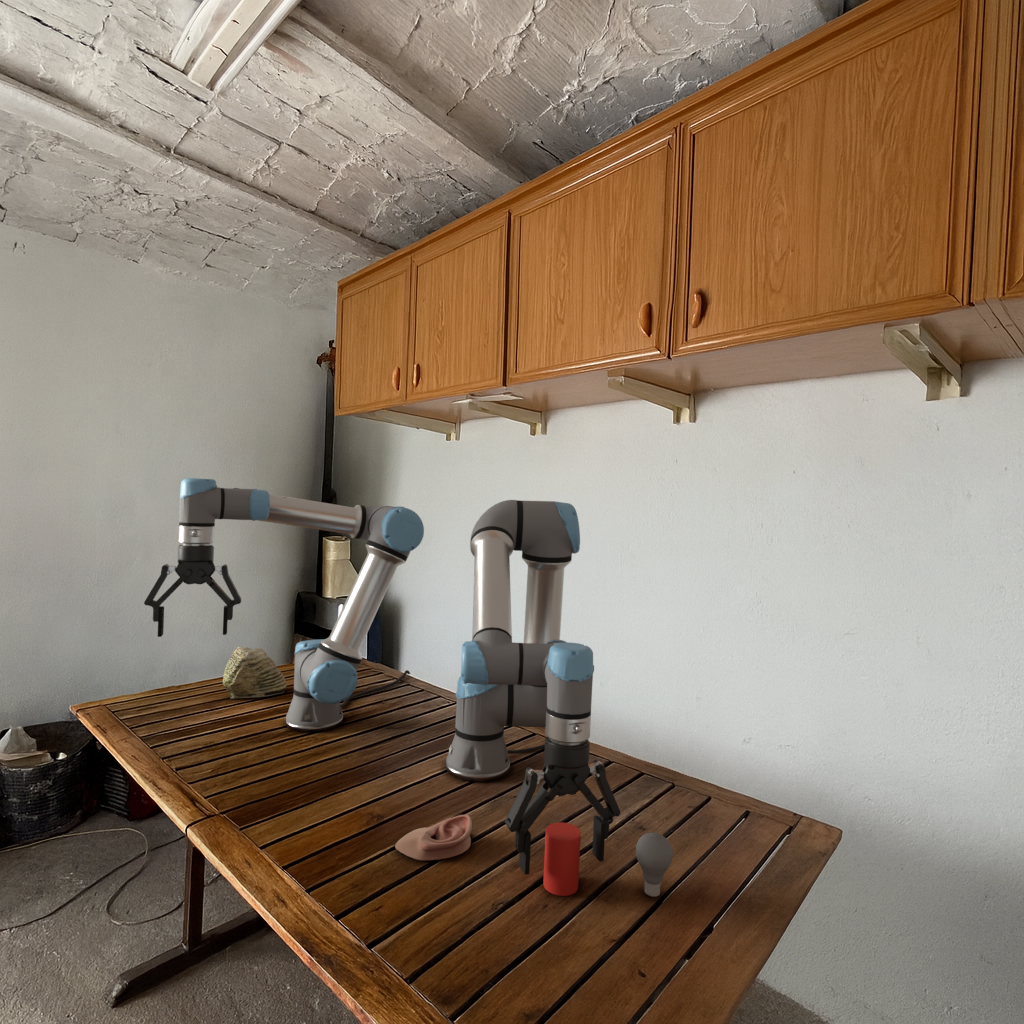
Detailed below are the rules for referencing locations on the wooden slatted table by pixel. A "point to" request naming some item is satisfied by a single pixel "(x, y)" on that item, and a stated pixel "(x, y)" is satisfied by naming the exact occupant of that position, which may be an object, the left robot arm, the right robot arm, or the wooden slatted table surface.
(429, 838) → the anatomical model
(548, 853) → the canister
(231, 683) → the fossil
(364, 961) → the wooden slatted table surface
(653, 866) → the light bulb
